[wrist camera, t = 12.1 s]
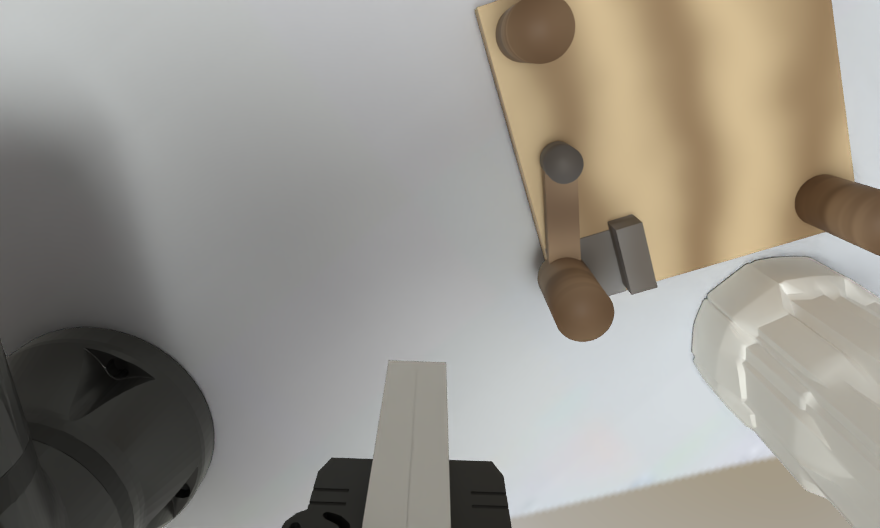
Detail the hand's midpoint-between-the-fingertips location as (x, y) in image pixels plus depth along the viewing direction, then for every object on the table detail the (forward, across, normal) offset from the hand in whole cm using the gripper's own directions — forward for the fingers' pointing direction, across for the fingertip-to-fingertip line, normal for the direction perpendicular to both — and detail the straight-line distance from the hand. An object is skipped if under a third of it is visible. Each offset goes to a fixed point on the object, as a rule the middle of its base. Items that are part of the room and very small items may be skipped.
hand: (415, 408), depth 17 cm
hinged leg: (+22, +8, 0) cm, 23 cm away
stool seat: (+24, +14, +6) cm, 29 cm away
